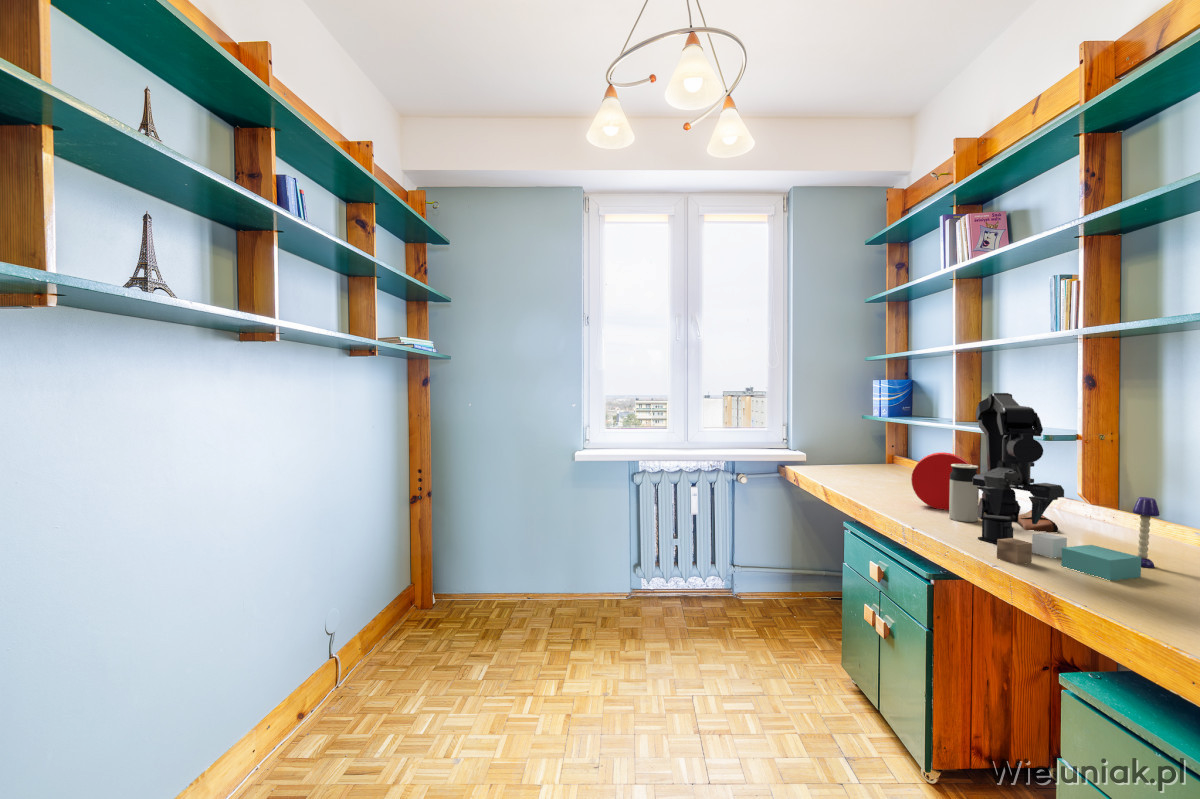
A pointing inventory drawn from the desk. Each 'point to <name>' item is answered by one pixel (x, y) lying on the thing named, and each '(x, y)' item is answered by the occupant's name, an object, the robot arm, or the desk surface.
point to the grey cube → (1048, 544)
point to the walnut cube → (1014, 551)
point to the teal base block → (1101, 562)
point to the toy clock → (935, 478)
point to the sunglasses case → (1042, 524)
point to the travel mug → (963, 493)
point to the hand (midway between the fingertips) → (1014, 519)
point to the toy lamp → (1145, 526)
